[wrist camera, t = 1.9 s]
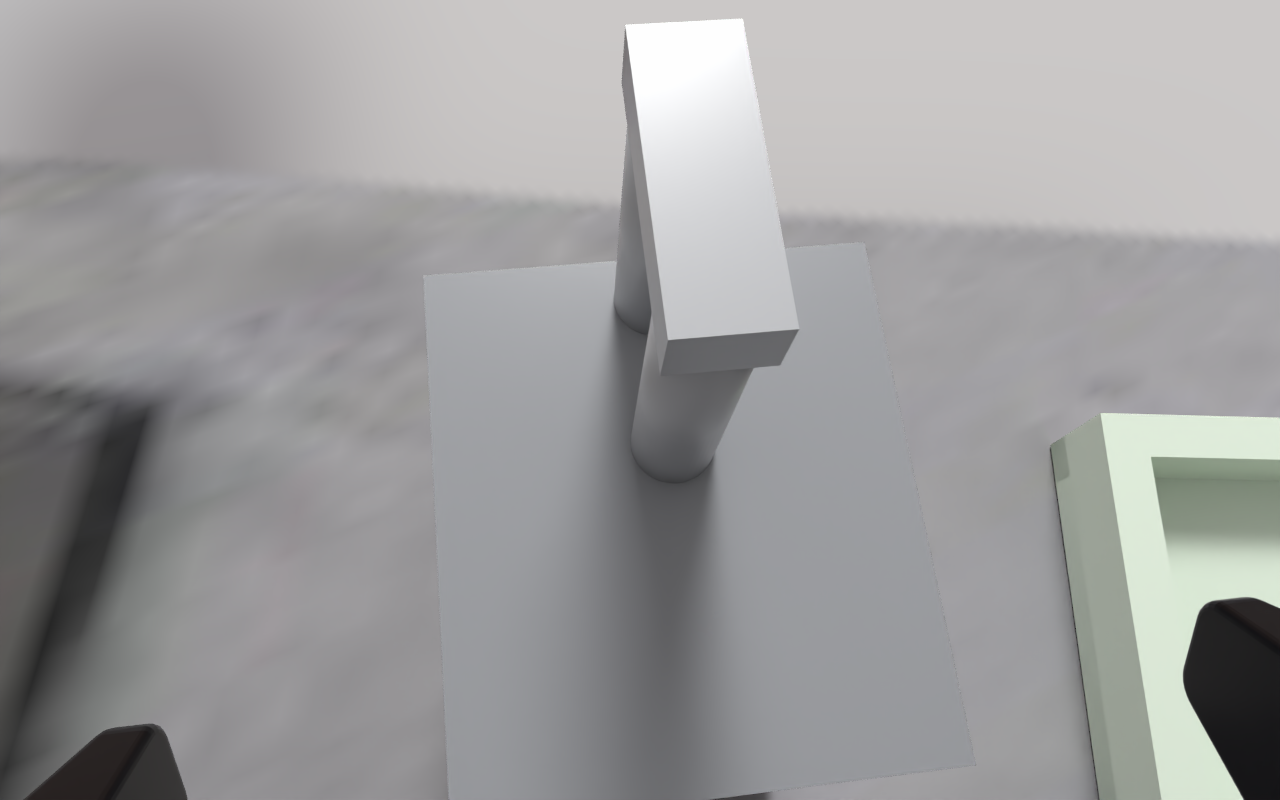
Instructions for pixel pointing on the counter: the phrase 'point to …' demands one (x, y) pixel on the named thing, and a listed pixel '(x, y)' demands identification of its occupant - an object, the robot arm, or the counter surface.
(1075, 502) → the tray
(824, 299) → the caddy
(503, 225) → the counter surface
